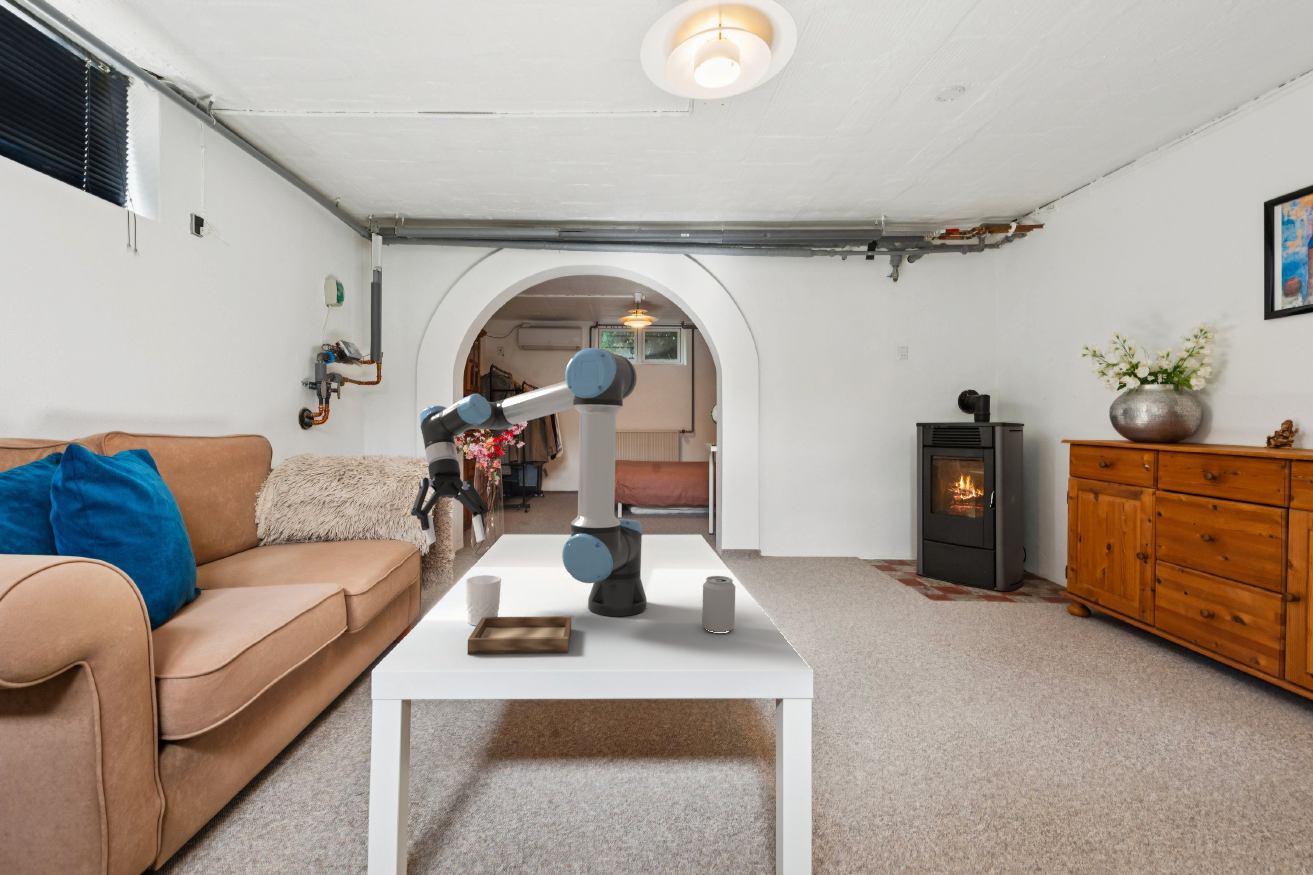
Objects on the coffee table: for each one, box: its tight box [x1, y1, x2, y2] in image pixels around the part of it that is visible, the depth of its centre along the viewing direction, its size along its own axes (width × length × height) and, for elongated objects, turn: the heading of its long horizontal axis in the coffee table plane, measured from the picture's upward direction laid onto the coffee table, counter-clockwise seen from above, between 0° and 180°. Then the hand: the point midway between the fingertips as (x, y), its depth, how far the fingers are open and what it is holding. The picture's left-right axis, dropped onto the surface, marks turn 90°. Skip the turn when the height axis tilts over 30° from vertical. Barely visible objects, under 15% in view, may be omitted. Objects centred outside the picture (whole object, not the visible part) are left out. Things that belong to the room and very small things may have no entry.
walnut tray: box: [467, 615, 573, 655], centre depth 123 cm, size 20×14×3 cm
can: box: [701, 575, 736, 632], centre depth 133 cm, size 8×8×12 cm
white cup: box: [465, 574, 502, 627], centre depth 135 cm, size 8×8×10 cm
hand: (457, 541), depth 140 cm, fingers open, 13 cm apart
